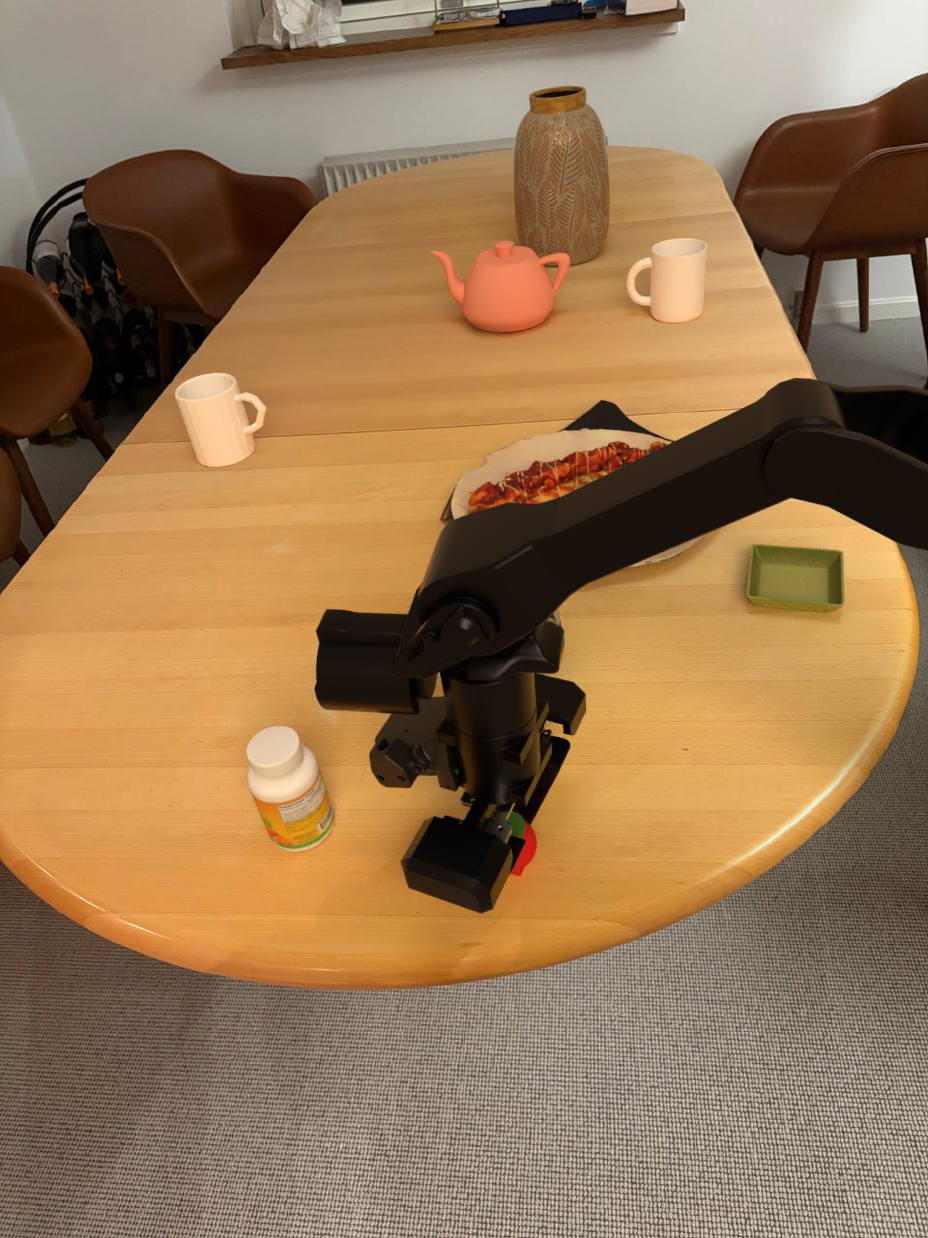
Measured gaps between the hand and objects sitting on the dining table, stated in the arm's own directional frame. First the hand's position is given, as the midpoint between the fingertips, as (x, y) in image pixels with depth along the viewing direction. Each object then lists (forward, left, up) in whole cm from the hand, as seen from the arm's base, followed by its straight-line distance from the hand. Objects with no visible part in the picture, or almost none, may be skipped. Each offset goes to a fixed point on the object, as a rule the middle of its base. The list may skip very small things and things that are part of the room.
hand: (510, 850), depth 66 cm
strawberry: (0, 0, -1) cm, 1 cm away
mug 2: (+16, -102, -1) cm, 103 cm away
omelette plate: (+12, -48, -1) cm, 49 cm away
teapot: (+41, -96, -1) cm, 104 cm away
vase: (+42, -127, -1) cm, 134 cm away
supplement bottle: (+17, +3, -1) cm, 17 cm away
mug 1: (+60, -47, -1) cm, 76 cm away
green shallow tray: (-14, -38, -1) cm, 41 cm away
